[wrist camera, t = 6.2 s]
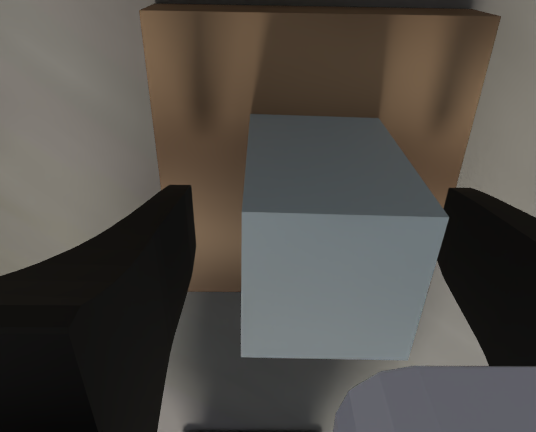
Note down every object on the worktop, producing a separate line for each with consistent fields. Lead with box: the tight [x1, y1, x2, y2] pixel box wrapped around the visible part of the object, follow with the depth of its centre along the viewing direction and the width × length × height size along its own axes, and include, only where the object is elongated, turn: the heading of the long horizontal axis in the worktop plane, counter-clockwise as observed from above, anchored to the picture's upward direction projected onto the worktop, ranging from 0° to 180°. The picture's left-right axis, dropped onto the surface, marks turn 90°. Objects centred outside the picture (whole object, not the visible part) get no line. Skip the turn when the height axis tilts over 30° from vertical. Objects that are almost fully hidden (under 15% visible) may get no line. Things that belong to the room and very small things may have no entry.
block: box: [241, 114, 449, 360], centre depth 12 cm, size 4×4×6 cm
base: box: [139, 4, 501, 293], centre depth 15 cm, size 10×10×2 cm
